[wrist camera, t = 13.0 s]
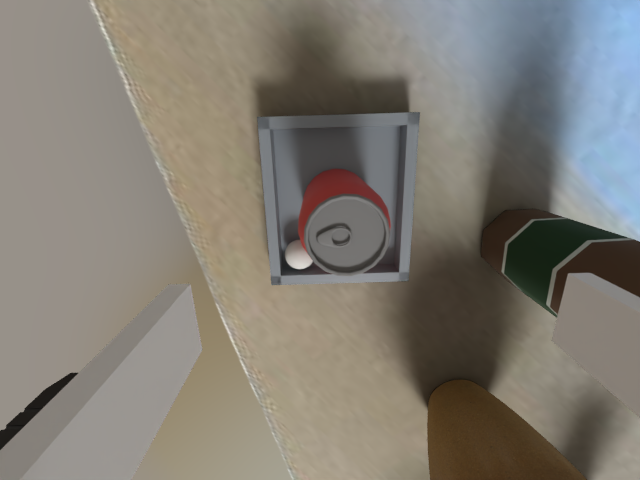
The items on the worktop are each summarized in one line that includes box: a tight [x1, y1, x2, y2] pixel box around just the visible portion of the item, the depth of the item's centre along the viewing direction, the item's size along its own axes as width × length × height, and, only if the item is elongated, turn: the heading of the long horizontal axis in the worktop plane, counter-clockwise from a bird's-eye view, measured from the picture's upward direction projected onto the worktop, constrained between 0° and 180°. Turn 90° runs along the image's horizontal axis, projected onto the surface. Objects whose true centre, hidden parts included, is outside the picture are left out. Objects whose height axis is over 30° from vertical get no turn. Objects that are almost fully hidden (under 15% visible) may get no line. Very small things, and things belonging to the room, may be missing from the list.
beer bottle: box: [481, 209, 640, 317], centre depth 22 cm, size 8×8×24 cm
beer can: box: [298, 169, 391, 276], centre depth 25 cm, size 7×7×12 cm
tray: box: [257, 112, 420, 285], centre depth 30 cm, size 16×14×3 cm
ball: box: [285, 240, 313, 269], centre depth 31 cm, size 3×3×3 cm
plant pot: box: [427, 379, 587, 480], centre depth 33 cm, size 15×15×16 cm
